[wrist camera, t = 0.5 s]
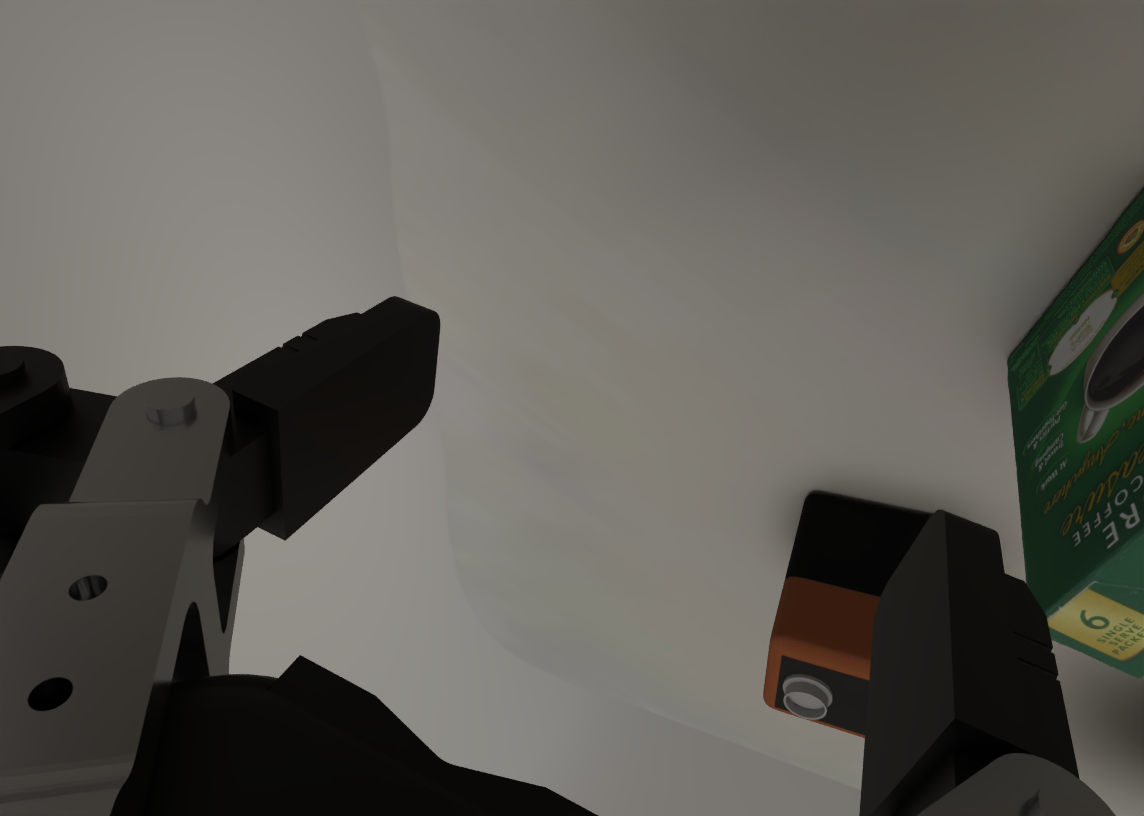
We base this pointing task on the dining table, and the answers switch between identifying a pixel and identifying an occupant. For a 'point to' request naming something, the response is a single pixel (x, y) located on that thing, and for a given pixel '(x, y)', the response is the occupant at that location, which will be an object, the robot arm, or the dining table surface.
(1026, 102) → the dining table surface
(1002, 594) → the robot arm
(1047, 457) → the coffee box
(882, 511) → the battery
